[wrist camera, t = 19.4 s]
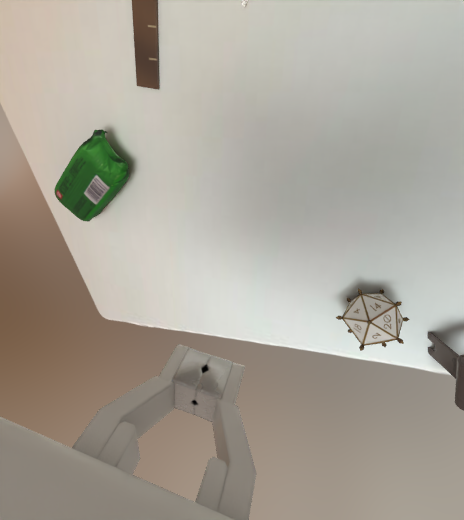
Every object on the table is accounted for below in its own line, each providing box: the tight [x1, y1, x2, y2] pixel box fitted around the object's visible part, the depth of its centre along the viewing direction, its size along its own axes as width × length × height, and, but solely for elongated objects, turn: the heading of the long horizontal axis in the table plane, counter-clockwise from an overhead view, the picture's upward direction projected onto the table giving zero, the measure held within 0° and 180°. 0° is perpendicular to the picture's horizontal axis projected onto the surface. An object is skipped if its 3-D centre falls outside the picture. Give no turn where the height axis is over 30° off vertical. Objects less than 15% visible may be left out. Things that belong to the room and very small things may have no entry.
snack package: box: [55, 130, 129, 221], centre depth 40 cm, size 7×16×5 cm, turn 131°
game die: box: [336, 289, 409, 351], centre depth 37 cm, size 9×8×10 cm
